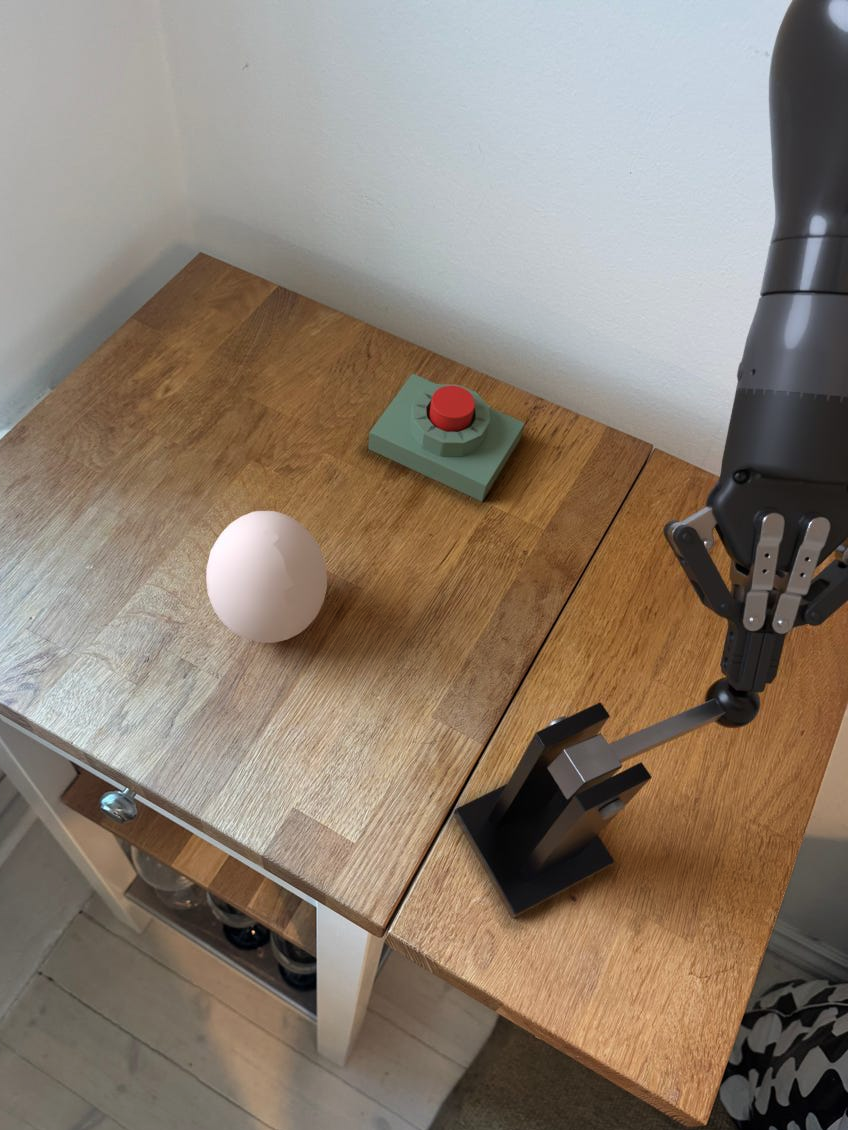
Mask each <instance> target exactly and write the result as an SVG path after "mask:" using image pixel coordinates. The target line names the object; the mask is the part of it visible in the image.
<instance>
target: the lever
mask: <svg viewBox="0 0 848 1130" xmlns="http://www.w3.org/2000/svg"><path fill="white" fill-rule="evenodd" d="M760 708H761V698H760V694H759V692H750V691H738V690H736V689H734V688H733V687H732V686H731V685H730V684H729V683H728V682H727V677H726V676H724V677H721V678H719V679H717V680H716V681H714V682H713V683H712V684H710V685H709V687H708V688H707V690H706V692H705V695H704V702H703V703H700V704H698V705H696V706H693V707H691V708H689V709H685V710H684V711H682V712H680V713H677V714H674V715H672V716H670V717H668V718H666V719H663V720H661V721H658V722H656V723H653V724H652V725H649V726H647V727H645V728H642V729H640V730H637V731H635V732H632V733H631V734H628V735H626V736H622V737H621V738H618V739H616V740H614V741H612V742H608V741H607V740H606V738H605V737H604V735H603V734H602V733H598V734H597V735H596V736H593V737H591V738H589V739H586V740H584V741H581V742H579V743H577V744H574V745H572V746H570V747H567V748H565V749H563V750H562V751H561V753H560V754H559V755H558V756H557V757H556V758H555V759H554V760H553V762H552V763H551V764H550V765H549V766H548V767H547V768H548V770H549V772H550V773H551V775H552V776H553V778H554V780H555V781H556V783H557V784H558V786H559V788H560V789H561V791H562V792H563V794H564V796H565V797H566V799H567V800H570V799H572V798H574V796H575V795H577V794H579V793H581V792H583V791H585V790H587V789H589V788H591V787H593V786H595V785H597V784H599V783H601V782H603V781H605V780H607V779H609V778H611V777H613V776H615V775H616V773H618V771H620V769H621V768H623V767H624V766H623V763H625V762H627V761H629V760H631V759H634V758H636V757H639V756H640V755H643V754H644V753H645V754H646V753H648V752H650V751H652V750H654V749H656V748H658V747H660V746H663V745H665V744H667V743H669V742H672V741H674V740H676V739H678V738H681V737H683V736H686V735H687V734H690V733H693V732H694V731H697V730H699V729H701V728H703V727H706V726H708V725H710V724H712V723H715V724H717V725H719V726H721V727H723V728H726V729H727V728H728V729H740V728H742V727H743V728H744V727H746V726H748V725H749V724H751V723H752V722H753V721H754V720H755V719H756V717H757V716H758V714H759V713H760Z"/></svg>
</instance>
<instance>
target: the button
mask: <svg viewBox="0 0 848 1130" xmlns="http://www.w3.org/2000/svg"><path fill="white" fill-rule="evenodd" d="M453 385H454V384H450V386H444V387H441V388H439V389H438V390H436V391H435V393H434V394H433V396H432V401H431V406H430V412H429V416H430V419H431V421H432V423H433V424H434V425H435V426H436V427H438V428H439V429H441V430H444V431H447V432H458V431H461V430H463V429H465V428H467V427H468V426H469V424H470V423H471V420H472V416H473V412H474V407H475V400H474V398H473V396H472V394H471V393H470V392H469V391H467V390H466V389H464V388H462V387H459V386H453Z"/></svg>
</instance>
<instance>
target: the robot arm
mask: <svg viewBox="0 0 848 1130" xmlns="http://www.w3.org/2000/svg"><path fill="white" fill-rule="evenodd" d="M768 116H769V132H770V133H769V134H770V135H769V136H770V151H771V177H772V189H773V200H774V224H773V230H772V234H771V238H770V242H769V245H768V246H769V247H768V251H767V256H766V261H765V267H764V271H763V276H762V281H761V286H760V291H759V292H760V293H759V296H760V297H759V298H758V300H757V305H756V309H755V312H754V314H753V315H754V316H753V318H752V322H751V324H750V327H749V330H748V332H747V336H746V339H745V343H744V348H743V353H742V357H741V360H740V362H739V364H738V367H737V373H736V378H737V383H736V388H735V392H734V398H733V404H732V409H731V414H730V418H729V424H728V428H727V434H726V439H725V443H724V444H725V445H724V449H723V454H722V457H721V458H722V459H721V467H720V473H719V474H720V475H719V478H718V479H717V482H716V483H715V485H714V486H713V487H712V489H711V490H709V493H708V495H707V497H706V500H705V507H703V508H702V509H700V510H698V511H696V512H695V513H694V514H692V515H690V516H688V517H687V518H685V519H683V520H682V521H680V520H676V519H674V520H673V519H672V520H669V521H668V522H666V524H665V525H664V526H663V530H662V531H663V532H662V533H663V536H664V538H665V539H666V541H667V543H668V545H669V546H670V548H671V550H672V552H673V554H674V556H675V558H676V560H677V561H678V563H679V565H680V567H681V568H682V570H683V572H684V574H685V576H686V577H687V578H688V581H689V583H690V585H691V587H692V588H693V590H694V591H695V594H696V595H697V597H698V599H699V601H700V602H701V604H702V605H703V606H704V607H706V608H707V609H708V610H709V611H712V612H713V613H714V614H716V616H718V617H721V618H724V619H726V622H727V630H726V634H725V639H724V645H723V649H722V656H721V658H720V662H719V663H720V664H719V666H720V670H721V674H722V675H724V677H727V682H728V683H729V684H730V685H731V686H732V687H733V688H734V689H736V690H738V691H750V692H758V693H764V692H765V689H766V685H767V684H769V685H772V684H773V682H774V680H775V679H776V677H777V675H778V671H779V665H780V662H781V657H782V653H783V648H784V644H785V640H786V637H787V635H788V633H789V632H790V631H791V630H792V629H795V628H797V627H802V626H805V625H808V626H812V627H818V626H821V625H822V624H823V623H824V622H826V621H827V619H829V617H831V616H832V615H833V614H834V613H835V612H837V611H838V610H839V609H840V608H841V607H843V605H844V604H846V603H847V602H848V0H792V1H790V3H789V5H788V7H787V9H786V11H785V13H784V16H783V18H782V20H781V23H780V25H779V29H778V30H777V34H776V36H775V40H774V45H773V49H772V53H771V59H770V66H769V76H768ZM714 529H715V530H716V534H717V536H718V537H719V539H720V542H721V543H722V545H723V547H724V550H725V552H726V554H727V556H728V557H729V558H730V566H729V580H730V590H729V588H728V586H727V584H726V582H725V581H724V579H723V577H722V575H721V573H720V571H719V570H718V568H717V566H716V564H715V561H714V560H713V558H712V556H711V555H710V553H709V551H711V550H712V549H713V548H714V545H715V538H714V534H713V532H714ZM833 553H834V559H833V560H832V561H831V562H830V563H829V564H828V565H826V567H824V568H823V569H822V570H821V571H819V573H817V575H816V576H814V574H815V571H816V569H817V568H818V567H820V565H821V564H822V563H824V562H825V560H827V559H828V558H829V557H830V556H831V555H832V554H833Z"/></svg>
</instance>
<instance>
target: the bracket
mask: <svg viewBox="0 0 848 1130" xmlns="http://www.w3.org/2000/svg"><path fill="white" fill-rule="evenodd" d="M610 717H611V715H610V714H609V712H608V711H607V709H606V708H605V706H604V705H603V703H602V702H600V701H599V702H596V704H593V705H591V706H589V707H587V708H584V709H582V710H581V711H578V712H577V713H574V714H572V715H570V716H567V715H562V716H560V717H557V718H555V719H554V720H552V721H551V722H550V723H548V724H547V726H545V727H544V728H543V729H540V730H538V731H536V732H535V733H534V734H533V736H532V739H531V740H530V742H529V743H528V746H527V747H526V749H525V751H524V752H523V755H522V756H521V758H520V760H519V762H518V764H517V765H516V767H515V769H514V771H513V773H512V774H511V776H510V778H509V780H508V781H507V783H506V784H503V785H502V786H499V787H498V788H496V789H494V790H492V791H489V792H487V793H485V794H483V795H481V796H479V797H477V798H475V799H473V800H471V801H469V802H466V803H465V804H463V805H460V806H459V807H457V808H455V809H454V811H453V813H452V815H453V817H454V819H455V821H456V823H457V824H458V826H459V828H460V830H461V832H462V833H463V835H464V837H465V838H466V840H467V842H468V843H469V845H470V847H471V849H472V851H473V852H474V854H475V856H476V858H477V860H478V861H479V863H480V865H481V867H482V868H483V870H484V872H485V874H486V876H487V878H488V879H489V881H490V882H491V885H492V886H493V888H494V890H495V892H496V893H497V895H498V897H499V899H500V900H501V902H502V904H503V907H505V909H506V911H507V913H508V914H509V916H510V918H511V919H514V918H516V917H518V916H520V915H522V914H524V913H526V912H527V911H530V910H531V909H533V908H535V907H537V906H538V905H541V904H542V903H544V902H546V901H548V900H550V899H552V898H554V897H555V896H557V895H560V894H561V893H563V892H565V891H567V890H569V889H571V888H572V887H575V886H576V885H578V884H580V883H581V882H583V881H586V880H587V879H589V878H591V877H593V876H595V875H596V874H598V873H601V872H603V871H604V870H606V869H608V868H611V866H612V865H613V864H614V863H615V860H614V858H613V857H612V855H611V853H610V852H609V850H608V848H607V847H606V846H605V844H604V842H603V840H602V839H601V837H600V836H599V835H600V834H601V833H602V831H603V830H605V829H606V827H607V826H608V825H609V824H610V823H611V822H612V821H613V820H614V819H615V818H616V817H617V816H618V814H620V812H621V811H623V810H624V809H625V808H626V806H627V805H628V804H629V803H630V802H631V800H633V798H634V797H635V796H636V795H637V794H638V793H639V792H640V791H641V790H642V789H643V788H644V786H646V784H648V782H649V781H650V780H651V779H652V775H651V774H650V772H649V771H648V769H647V768H646V766H645V765H644V764H643V762H638V763H636V764H635V765H633V766H631V767H628V768H626V769H624V770H623V771H620V772H619V773H617V774H614V775H613V776H612V777H611V778H609V779H607V780H605V781H603V782H601V783H599V784H597V785H595V786H593V787H591V788H589V789H587V790H585V791H583V792H581V793H579V794H577V795H575V796H574V798H572V799H570V800H567V799H566V797H565V796H564V794H563V792H562V791H561V789H560V788H559V786H558V784H557V783H556V781H555V780H554V778H553V776H552V775H551V773H550V772H549V770H548V768H547V767H548V766H549V765H550V764H551V763H552V762H553V760H554V759H555V758H556V757H557V756H558V755H559V754H560V753H561V751H562V750H563V749H565V748H567V747H570V746H572V745H574V744H577V743H579V742H581V741H584V740H586V739H589V738H591V737H593V736H596V735H598V734H600V731H601V730H602V728H603V727H604V725H605V724H606V723H607V721H608V720H609V718H610Z"/></svg>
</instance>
